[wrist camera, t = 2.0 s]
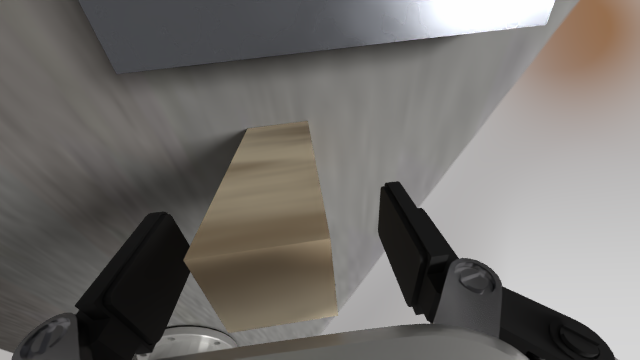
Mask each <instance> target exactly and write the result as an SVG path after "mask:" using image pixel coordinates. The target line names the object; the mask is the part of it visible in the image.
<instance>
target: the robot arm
mask: <svg viewBox="0 0 640 360" xmlns="http://www.w3.org/2000/svg"><path fill="white" fill-rule="evenodd" d="M378 233H379V237H380V239H381V242H382V244H383V247H384V249H385V252H386V254H387V257H388V259H389V262H390V264H391V266H392V269H393V271H394V274H395V276H396V278H397V281H398V284H399V286H400V289H401V291H402V293H403V296H404V299H405V301H406V303H407V305H408V306H409V307H413V309H414V312H415V314H416V315H419V314H424V315H425V317H426V319H427V321H429V322H430V324H414V325H400V326H391V327H384V328H374V329H366V330H358V331H350V332H343V333H336V334H328V335H321V336H314V337H307V338H299V339H292V340H285V341H278V342H271V343H264V344H257V345H250V346H243V347H237V344H236V343H235V341H234V340H233V339H232V338H231V337H229V336H227V335H226V334H224V333H221V332H219V331H216V330H212V329H208V328H202V327H175V328H168V329H166V327H167V324H168V322H169V320H170V317H171V315H172V313H173V310H174V308H175V306H176V304H177V301H178V299H179V297H180V294H181V292H182V290H183V287H184V285H185V283H186V280H187V278H188V276H189V274H190V270H189V269H188V267H187V265H186V264H185V262H184V261H183V260H184V258H185V256H186V254H187V252H188V250H189V247H190V246H189V244H188V242H187V241H186V239H185V237H184V236H183V234H182V232H181V231H180V229H179V227H178V226H177V224H176V222H175V221H174V219H173V217H172V216H171V215H170V214H167V213H166V212H156V213H150V214H148V215H147V216H146V217H145V218H144V220H143V221H142V222H141V223H140V225H139V226H138V227H137V228H136V230H135V231H134V232H133V233H132V235H131V236H130V237H129V238H128V240H127V241H126V242H125V243H124V245H123V246H122V247H121V248H120V250H119V251H118V252H117V253H116V255H115V256H114V257H113V258H112V260H111V261H110V262H109V263H108V265H107V266H106V267H105V268H104V270H103V271H102V272H101V273H100V275H99V276H98V277H97V278H96V280H95V281H94V282H93V283H92V285H91V286H90V287H89V288H88V290H87V291H86V292H85V293H84V295H83V296H82V297H81V298H80V300H79V301H78V302H77V303H76V305H75V307H77V308H78V309H79V311H78V313H77V314H76V315H75V314H73V313H63V314H59V315H56V316H54V317H52V318H50V319H48V320H46V321H45V322H43V323H42V324H40V325H39V326H37V327H36V328H35V329H34V330H32V331H31V332H30V333H29V334H28V335H27V336H26V337H25V338H24V339H23V340H22V341H21V342H20V343H19V345H18V346H17V348H16V349H15V351H14V354H13V356H12V360H132V358H133V356H134V354H135V353H136V354H137V359H138V360H618V359H616V358H615V357H614V355H613V352H612V351H611V350H610V348H609V347H608V345H607V344H606V343H605V342H604V341H603V340H602V339H601V338H600V337H599V336H598V335H597V334H596V333H595V332H593V331H592V330H591V329H590V328H588V327H587V326H585V325H583V324H582V323H580V322H578V321H576V320H574V319H572V318H570V317H568V316H566V315H563V314H561V313H559V312H557V311H554V310H552V309H550V308H548V307H546V306H544V305H541V304H539V303H537V302H535V301H533V300H531V299H528V298H526V297H524V296H522V295H520V294H518V293H516V292H513V291H511V290H509V289H506V288H505V287H502V283H501V281H500V279H499V277H498V275H497V274H496V273H495V272H494V271H493V270H492V269H491V268H489V267H488V266H487V265H485V264H483V263H481V262H479V261H477V260H473V259H468V258H461V259H459V258H458V257H457V255H456V254H455V253H454V251H453V250H452V248H451V247H450V245H449V244H448V243H447V241H446V240H445V238H444V237H443V236H442V234H441V233H440V232H439V230H438V229H437V227H436V226H435V224H434V223H433V222H432V220H431V219H430V217H429V216H428V215H427V213H426V212H425V211H424V210H423V209H422V208H417V207H416V205H415V204H414V202H413V201H412V200H411V198H410V197H409V195H408V194H407V192H406V191H405V189H404V188H403V186H402V185H401V183H400V182H398V181H397V182H389V183H385V186H383V187H381V193H380V208H379V224H378Z"/></svg>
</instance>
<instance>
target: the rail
mask: <svg viewBox="0 0 640 360" xmlns="http://www.w3.org/2000/svg"><path fill="white" fill-rule="evenodd" d="M78 1H79V3H80V5H81V7H82V9H83V11H84V13H85V14H86V16H87V18H88V20H89V22H90V24H91V26H92V28H93V30H94V32H95V34H96V36H97V38H98V40H99V41H100V43H101V45H102V47H103V49H104V51H105V53H106V55H107V57H108V59H109V61H110V63H111V65H112V66H113V68H114V70H115V72H116V74H121V73H130V72H139V71H147V70H156V69H165V68H173V67H182V66H191V65H199V64H208V63H217V62H225V61H234V60H243V59H251V58H260V57H269V56H277V55H286V54H295V53H303V52H312V51H321V50H329V49H338V48H347V47H355V46H364V45H373V44H381V43H390V42H399V41H408V40H416V39H425V38H434V37H442V36H451V35H460V34H468V33H477V32H486V31H494V30H503V29H512V28H520V27H529V26H538V25H546V24H547V21H548V18H549V15H550V12H551V10H552V7H553V4H554V1H555V0H78Z"/></svg>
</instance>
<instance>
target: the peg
mask: <svg viewBox="0 0 640 360" xmlns="http://www.w3.org/2000/svg"><path fill="white" fill-rule="evenodd" d="M183 261H184V262H185V264H186V265H187V267H188V269H189V270H190V272H191V273H192V275H193V277H194V278H195V280H196V281H197V283H198V285H199V286H200V288H201V289H202V291H203V293H204V294H205V296H206V297H207V299H208V301H209V302H210V304H211V305H212V307H213V309H214V310H215V312H216V314H217V315H218V317H219V318H220V320H221V322H222V323H223V325H224V326H225V328H226V330H227V331H228V333H232V332H238V331H245V330H251V329H257V328H263V327H270V326H276V325H282V324H288V323H295V322H301V321H307V320H313V319H320V318H326V317H332V316H338V311H337V301H336V291H335V281H334V271H333V261H332V251H331V241H330V235H329V230H328V224H327V219H326V214H325V209H324V204H323V198H322V193H321V188H320V183H319V178H318V172H317V167H316V162H315V157H314V152H313V147H312V141H311V136H310V131H309V126H308V121H303V122H295V123H287V124H279V125H272V126H264V127H256V128H248V129H247V131H246V133H245V135H244V137H243V139H242V141H241V143H240V145H239V147H238V149H237V151H236V153H235V155H234V157H233V159H232V161H231V163H230V166H229V168H228V170H227V172H226V174H225V176H224V178H223V180H222V182H221V184H220V186H219V188H218V190H217V192H216V194H215V196H214V198H213V200H212V202H211V204H210V207H209V209H208V211H207V213H206V215H205V217H204V219H203V221H202V223H201V225H200V227H199V229H198V231H197V233H196V235H195V237H194V239H193V241H192V243H191V245H190V247H189V250H188V252H187V254H186V256H185V258H184V260H183Z"/></svg>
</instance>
